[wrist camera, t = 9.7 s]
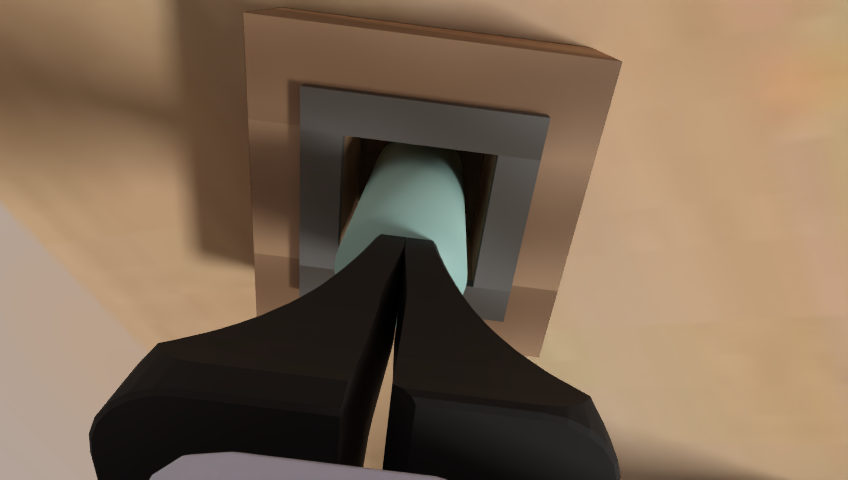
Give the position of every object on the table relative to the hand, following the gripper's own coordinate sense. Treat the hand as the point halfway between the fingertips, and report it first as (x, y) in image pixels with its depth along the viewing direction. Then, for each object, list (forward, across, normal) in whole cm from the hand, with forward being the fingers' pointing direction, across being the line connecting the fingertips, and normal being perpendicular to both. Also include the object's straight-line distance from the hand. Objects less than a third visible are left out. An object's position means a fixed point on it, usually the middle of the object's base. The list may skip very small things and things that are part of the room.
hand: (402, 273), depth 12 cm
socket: (+7, 0, 0) cm, 7 cm away
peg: (+7, 0, 0) cm, 7 cm away
